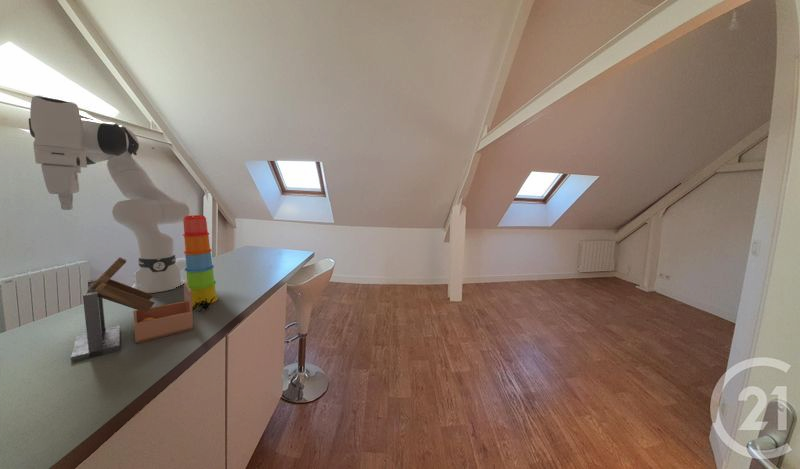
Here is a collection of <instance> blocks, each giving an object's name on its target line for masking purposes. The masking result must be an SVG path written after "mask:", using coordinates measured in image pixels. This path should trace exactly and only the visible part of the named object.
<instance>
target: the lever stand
mask: <svg viewBox="0 0 800 469" xmlns="http://www.w3.org/2000/svg"><path fill="white" fill-rule="evenodd" d="M96 280H97V279H91V280H88V281H87V287H88V288H89V285H90V283H92V282H96ZM88 288H87V289H88ZM82 299H83V300H82V301H83V310H84V320H85V329H86V332H81V333H77V334H76V338H75V341H74V345H73V348H72V351H71V354H70V363H71V364H72V363H75V362H80V361H83V360H87V359H92V358H96V357H99V356H103V355H107V354H111V353H115V352H116V353H117V352H119V351H120V350H121V344H120V343H121V325H114V326H110V327H106V322H105V312H104V309H105V308H104V299H103V298H100V297H98V292H93V293H87V292H86V293H83V294H82Z"/></svg>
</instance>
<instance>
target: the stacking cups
mask: <svg viewBox="0 0 800 469" xmlns="http://www.w3.org/2000/svg"><path fill="white" fill-rule="evenodd" d="M182 223H183V231H184V232H183V234H182V236H183V237H184V247H185V250H184V251H183V254H185V255H184V256H185V266H186V268H184V271H185V272H186V283H187V284H188V286H189V288H190V289H191V291H192V307H193V306H194V307H195V305H196V303H195V302H197V303H199V302H202V301H206V299H207V303H210V301H211V299H212V298H214V297H215V298H214V299H213V300H212V302H211V304H213V303H215V302H216V301H217V300H218V299H219V297H218V295H216V283H217V281H216V280H215V277H214V267H215V266H214V265H213V260H212V253H211V252H212V250H213V249H212V248H211V246H210V237H209V235H210V233H209V231H208V222H207V218H206V217H205V215H201V214H200V215H199V214H198V215H197V214H196V215H189V216H185V217H184V218H183V222H182ZM199 298H200V299H199ZM203 304H204V302H203ZM199 305H200V303H199ZM197 307H199V306H198V305H197Z"/></svg>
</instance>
